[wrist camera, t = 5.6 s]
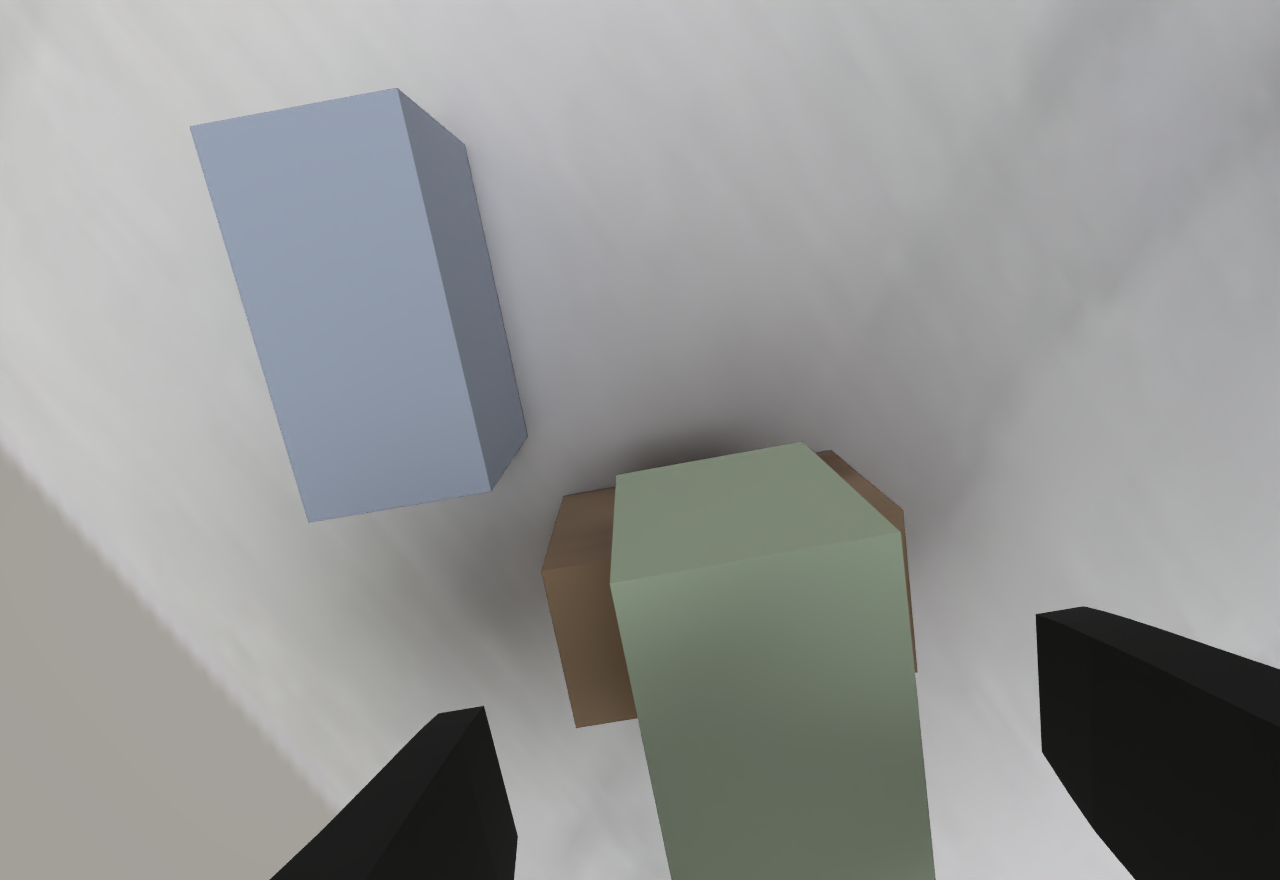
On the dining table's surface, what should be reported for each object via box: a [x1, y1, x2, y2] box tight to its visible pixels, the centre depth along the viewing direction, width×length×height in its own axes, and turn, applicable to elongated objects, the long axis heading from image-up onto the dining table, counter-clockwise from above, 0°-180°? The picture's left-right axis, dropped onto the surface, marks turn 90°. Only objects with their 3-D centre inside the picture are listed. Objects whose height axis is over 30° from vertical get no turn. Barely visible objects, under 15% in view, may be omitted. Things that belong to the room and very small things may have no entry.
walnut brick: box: [541, 450, 917, 728], centre depth 13 cm, size 6×3×4 cm, turn 100°
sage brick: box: [610, 442, 936, 880], centre depth 10 cm, size 6×3×4 cm, turn 10°
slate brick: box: [189, 88, 527, 523], centre depth 12 cm, size 6×3×4 cm, turn 10°
